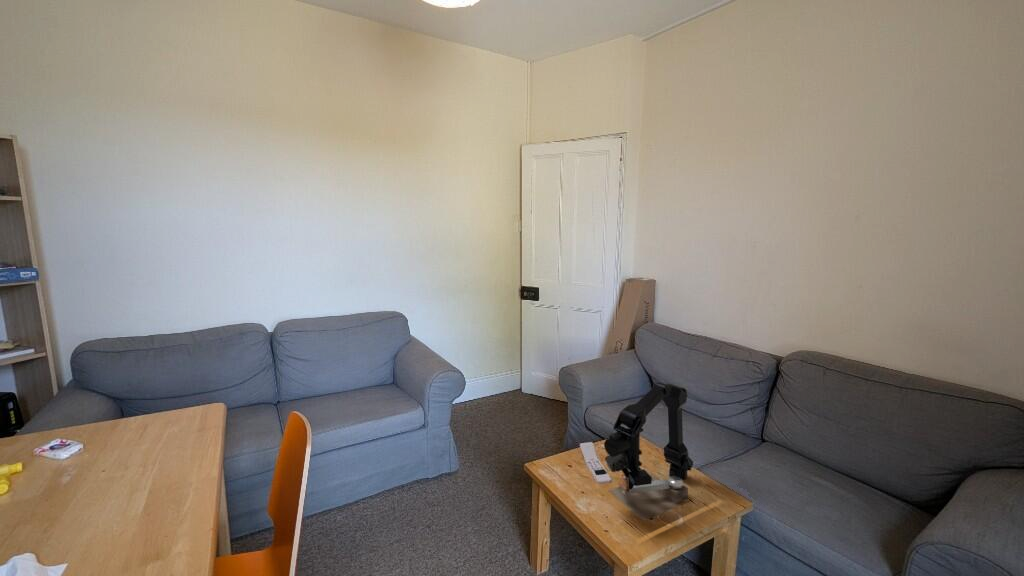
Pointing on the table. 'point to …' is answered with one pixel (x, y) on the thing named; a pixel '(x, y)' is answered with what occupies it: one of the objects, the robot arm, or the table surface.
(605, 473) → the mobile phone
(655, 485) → the lever
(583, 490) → the table surface
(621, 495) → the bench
